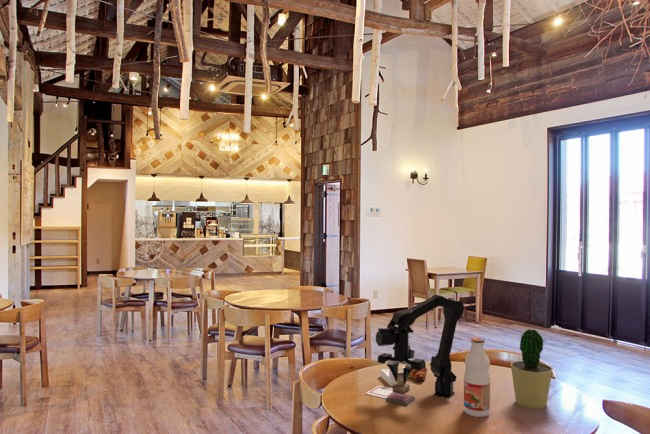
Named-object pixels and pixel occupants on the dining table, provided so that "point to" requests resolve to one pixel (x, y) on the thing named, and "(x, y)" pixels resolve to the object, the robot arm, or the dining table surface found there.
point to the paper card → (381, 392)
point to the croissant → (418, 374)
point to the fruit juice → (477, 380)
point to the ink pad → (400, 398)
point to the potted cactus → (531, 373)
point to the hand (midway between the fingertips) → (401, 382)
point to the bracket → (389, 376)
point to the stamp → (400, 385)
